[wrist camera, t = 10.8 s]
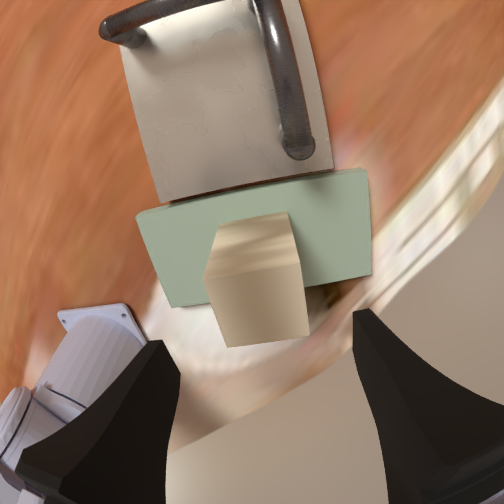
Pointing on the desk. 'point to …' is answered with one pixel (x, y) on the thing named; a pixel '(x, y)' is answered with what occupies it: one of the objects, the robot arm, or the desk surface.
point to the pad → (257, 204)
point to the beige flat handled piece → (221, 91)
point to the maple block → (256, 281)
